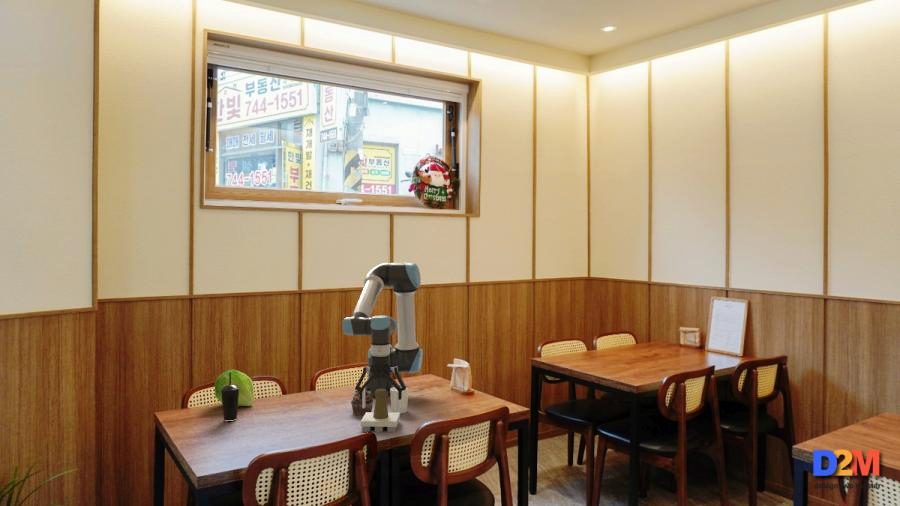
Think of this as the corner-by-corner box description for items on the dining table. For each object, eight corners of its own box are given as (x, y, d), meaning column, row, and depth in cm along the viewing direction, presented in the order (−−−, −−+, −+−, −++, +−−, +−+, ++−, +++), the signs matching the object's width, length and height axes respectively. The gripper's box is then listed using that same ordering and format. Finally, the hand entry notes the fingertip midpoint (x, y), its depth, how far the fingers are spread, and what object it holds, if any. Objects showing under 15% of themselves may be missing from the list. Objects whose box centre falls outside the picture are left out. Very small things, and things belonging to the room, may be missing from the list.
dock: (366, 421, 237) (366, 412, 237) (400, 422, 236) (399, 412, 236) (360, 431, 225) (360, 421, 225) (396, 431, 224) (396, 421, 224)
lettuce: (231, 416, 249) (254, 386, 252) (198, 389, 254) (221, 360, 257) (248, 418, 265) (270, 389, 268) (217, 392, 271) (239, 365, 274)
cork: (373, 414, 233) (374, 387, 233) (388, 414, 234) (389, 387, 233) (372, 419, 227) (373, 391, 227) (388, 418, 228) (388, 391, 227)
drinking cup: (244, 418, 242) (243, 371, 241) (231, 424, 234) (231, 375, 234) (229, 416, 244) (228, 369, 244) (216, 422, 237) (216, 373, 237)
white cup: (405, 414, 247) (405, 391, 246) (388, 413, 248) (387, 390, 248) (410, 409, 254) (410, 386, 254) (393, 408, 256) (393, 386, 256)
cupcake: (377, 411, 252) (377, 388, 252) (365, 417, 243) (365, 393, 243) (359, 408, 256) (359, 386, 256) (346, 414, 247) (346, 391, 247)
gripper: (347, 356, 226) (347, 410, 227) (410, 356, 226) (410, 410, 226) (351, 352, 234) (351, 404, 234) (412, 353, 233) (412, 405, 234)
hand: (380, 407), depth 230 cm, fingers open, 13 cm apart
